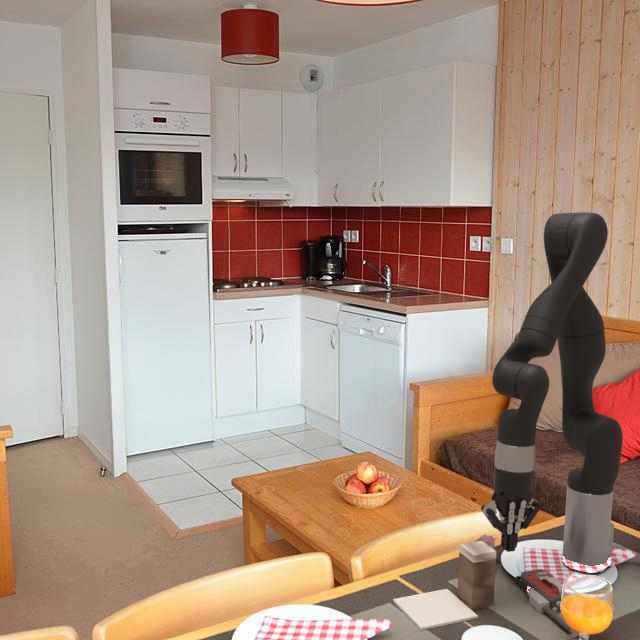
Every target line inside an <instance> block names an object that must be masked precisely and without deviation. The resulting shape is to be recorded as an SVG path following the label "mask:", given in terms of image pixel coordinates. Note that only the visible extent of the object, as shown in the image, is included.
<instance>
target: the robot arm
mask: <svg viewBox="0 0 640 640" xmlns="http://www.w3.org/2000/svg"><path fill="white" fill-rule="evenodd" d="M543 229H544V230H543V246H544V253H545V257H546V261H547V267H548V268H547V269H548V273H549V276H550V277H549V278H550V282H551V283H550V284H549V285H548V286H546V288H544V290H543V291H542V292H541V293H539V294H538V295H537V297H536V298H535V299H534V300H533V302H532V303H531V305H530V306H529V308H528V310H527V312H526V315H525V317H524V319H523V322H522V324H521V327H520V330H519V332H518V335H517V336H516V338H515V339H514V340H513V342H511V344H510V345H509V347H508V348H507V350H506V351H505V352H504V353H503V355H502V356H501V358H500V359H499V360H498V361H497V363H496V365H495V367H494V369H493V372H492V376H491V377H492V378H491V379H492V380H491V382H492V387H493V389H494V390H495V392H496V393H497V394H499V395H501V396H503V397H507V398H512V399H516V400H520V405H519V407H518V408H509V409H505V410H502V411H501V412H500V414H499V417H498V424H497V425H498V427H497V440H496V445H495V446H496V447H495V453H494V466H493V467H494V468H493V479H492V481H493V482H492V483H493V494H492V495H491V501H490V502H489V503H488V504H487V505H486V504H483V505H481V506H480V510H481V512H482V513H483V515H484V516H485V517H486V519H487V520H488V522H489V523H490V525H491V526H492V527H493V528H494V529H496V530H498V531H499V532H500V533H501V534H500V535H501V536H500V537H501V539H500V546H501V547H502V549H503V550H504V551H506V552H507V553H510V552H515V551H516V548H517V547H518V540H519V539H518V538H519V533H520V531H521V530H526V529H528V527H529V526H530V525H531V523H532V522H533V520H534V519H535V518H536V516H537V514H538V513H539V511H540V510H541V509H542V507H543V506H542V503H541V502H540V501H537V500H535V498H533V496H534V495H533V493H532V491H533V489H534V481H535V470H536V469H535V468H536V456H537V455H536V437H537V436H536V435H537V434H536V433H537V424H538V420H539V417H540V415H541V411H542V408H543V406H544V404H545V400H546V397H547V395H548V392H549V389H550V378H549V375H548V372H547V370H546V369H545V368H544V367H543V366H540V365H539V364H534V363H529V362H530V361H531V360H532V359H535V358H544V357H548V356H550V355H551V354H552V352H553V351H554V348H555V345H556V343H557V344H558V345H557V347H558V353H559V362H560V363H559V364H560V374H561V375H560V377H561V386H562V387H561V388H562V389H561V390H562V396H561V398H562V399H561V400H562V409H561V421H562V422H561V426H562V427H561V428H562V429H561V430H562V431H561V432H562V437H563V440H564V442H565V444H566V445H567V447H569V448H570V449H572V450H573V451H575V452H577V453H579V454H581V455H584V459H583V465H582V466H583V467H577V468H573V469H571V470H570V471H569V472H568V474H567V480H566V482H567V483H566V498H565V509H564V510H565V512H564V514H565V515H564V526H563V527H564V528H563V539H562V540H563V542H562V543H563V544H562V555H563V556H564V557H565V558H566V559H568V560H570V561H573V562H577V563H580V564H583V565H588V566H595V565H600V564H604V563H606V562H607V560H608V558H610V557H613V547H614V545H613V544H614V533H615V525H614V523H613V522H612V511H613V510H612V509H613V499H614V498H613V497H614V486H615V482H616V481H617V478H618V477H619V473H620V463H621V456H622V449H623V441H624V439H623V431H622V427H621V424H620V423H619V422H618V421H617V420H616V419H614V418H612V417H610V416H608V415H604V414H602V413H599V412H596V411H595V408H594V407H595V406H594V400H593V399H594V397H593V386H594V385H593V384H594V381H595V379H596V377H597V375H598V373H599V370H600V368H601V366H602V364H603V363H604V359H605V357H606V350H607V345H606V333H605V324H604V323H605V322H604V320H603V317H602V314H601V313H600V311H599V309H598V307H597V306H596V304H595V303H594V301H593V300H592V299H591V297H590V295H589V294H588V292H587V290H586V289H585V287H584V285H585V283H586V281H587V280H588V279H589V276H590V275H591V273H592V271H593V270H594V268H595V267H596V265H597V263H598V261H599V260H600V258H601V256H602V254H603V252H604V250H605V247H606V244H607V241H608V234H609V231H608V225H607V222H606V220H605V219H604V217H603V216H602V215H600V214H599V213H596V212H586V211H585V212H561V213H560V212H559V213H554V214H552V215H550V216H549V217H548V219H547V220H546V222H545V226H544V228H543ZM497 511H498V512H497ZM497 514H498V515H497Z"/></svg>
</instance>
